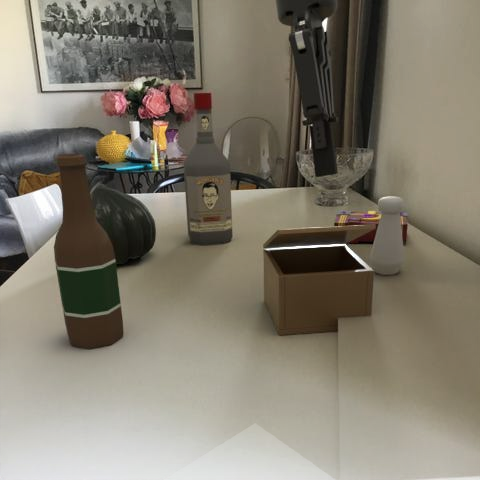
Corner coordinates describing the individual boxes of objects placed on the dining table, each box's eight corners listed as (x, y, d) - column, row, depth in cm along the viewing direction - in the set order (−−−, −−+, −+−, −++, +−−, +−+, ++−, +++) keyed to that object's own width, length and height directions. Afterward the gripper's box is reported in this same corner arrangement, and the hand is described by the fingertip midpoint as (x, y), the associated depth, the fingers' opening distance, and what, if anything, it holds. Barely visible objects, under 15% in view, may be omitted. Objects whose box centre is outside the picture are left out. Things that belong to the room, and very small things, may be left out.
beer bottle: (119, 348, 73) (95, 157, 64) (59, 350, 73) (26, 160, 64) (129, 325, 80) (109, 150, 71) (75, 327, 81) (47, 152, 71)
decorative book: (406, 245, 115) (408, 221, 113) (327, 243, 119) (327, 219, 117) (405, 232, 125) (407, 209, 123) (332, 230, 129) (332, 208, 127)
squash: (179, 232, 109) (140, 168, 111) (114, 251, 99) (72, 182, 101) (151, 268, 119) (115, 210, 121) (90, 289, 110) (52, 226, 112)
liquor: (187, 236, 128) (178, 93, 116) (227, 233, 129) (221, 92, 118) (191, 246, 120) (181, 93, 108) (234, 243, 121) (228, 92, 110)
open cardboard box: (370, 328, 77) (374, 270, 74) (279, 335, 76) (278, 276, 73) (342, 295, 89) (345, 244, 86) (264, 300, 88) (263, 248, 85)
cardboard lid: (375, 228, 72) (375, 224, 72) (278, 234, 71) (277, 229, 71) (345, 243, 86) (345, 239, 86) (263, 248, 85) (263, 244, 85)
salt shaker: (387, 278, 96) (393, 202, 91) (362, 271, 100) (366, 197, 95) (410, 271, 99) (416, 197, 94) (384, 264, 104) (389, 193, 99)
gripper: (290, 6, 78) (311, 180, 82) (259, -25, 66) (285, 179, 70) (343, -10, 75) (363, 171, 79) (321, -46, 63) (345, 169, 68)
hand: (326, 175), depth 75 cm, fingers closed
